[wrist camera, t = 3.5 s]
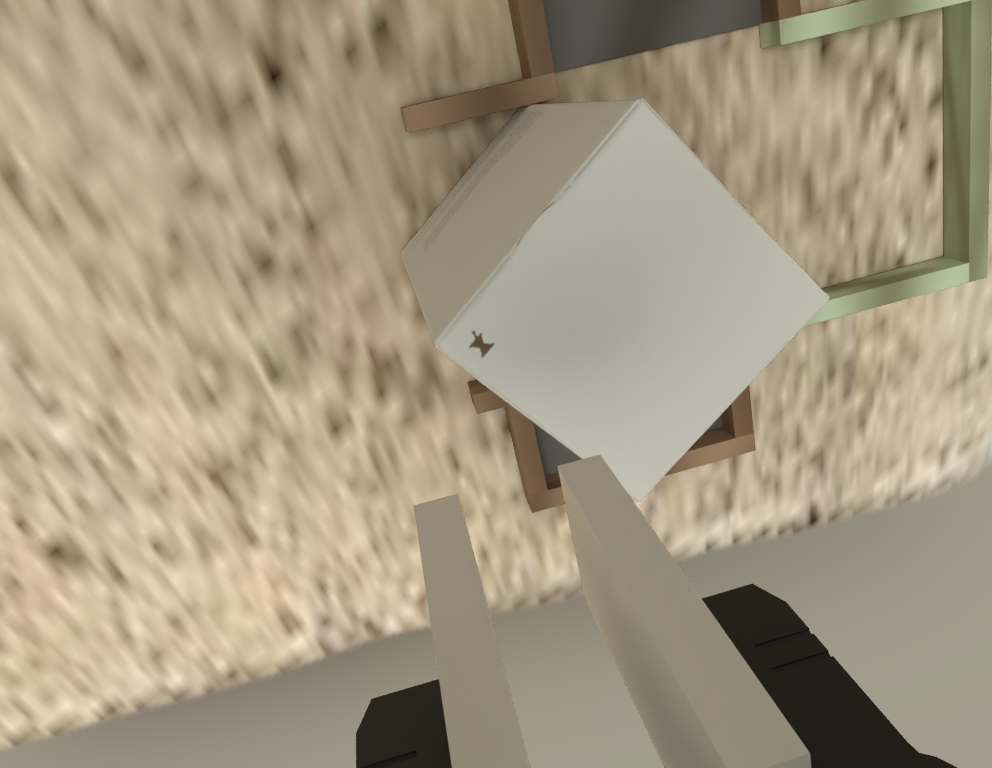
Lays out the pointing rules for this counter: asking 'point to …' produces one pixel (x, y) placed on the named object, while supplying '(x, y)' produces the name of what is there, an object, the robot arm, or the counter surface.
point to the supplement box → (605, 284)
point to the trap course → (776, 9)
